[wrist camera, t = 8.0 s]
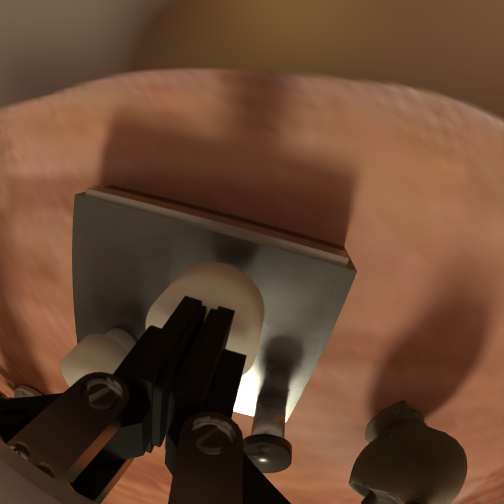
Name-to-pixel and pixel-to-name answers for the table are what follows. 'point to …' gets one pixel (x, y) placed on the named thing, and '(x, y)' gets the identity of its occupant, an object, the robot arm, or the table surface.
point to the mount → (198, 251)
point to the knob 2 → (218, 303)
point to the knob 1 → (97, 354)
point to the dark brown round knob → (268, 436)
